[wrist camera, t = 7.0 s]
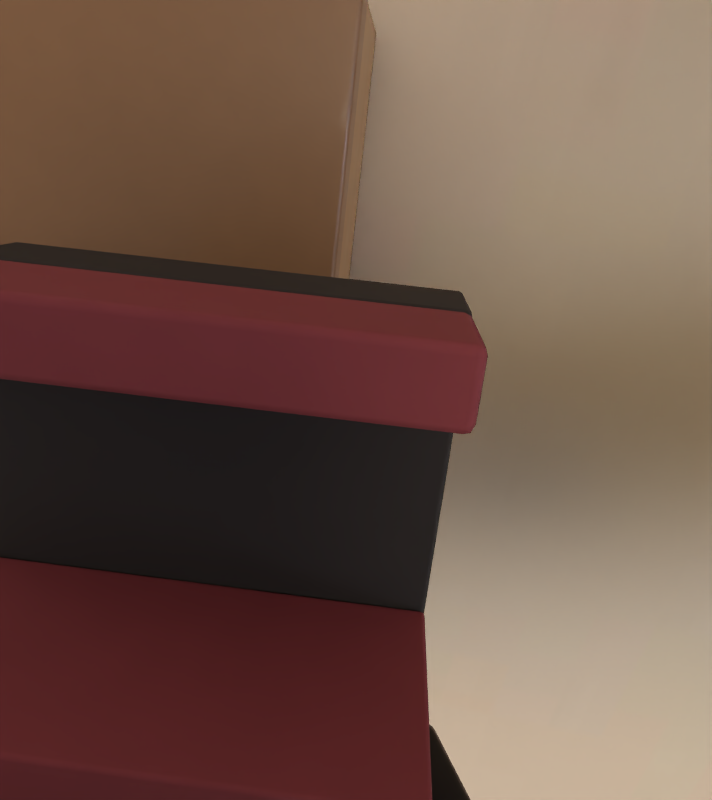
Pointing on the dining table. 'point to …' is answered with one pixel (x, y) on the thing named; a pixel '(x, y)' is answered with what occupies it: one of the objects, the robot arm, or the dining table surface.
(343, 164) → the shoebox
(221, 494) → the dark red two-tone block
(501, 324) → the dining table surface
